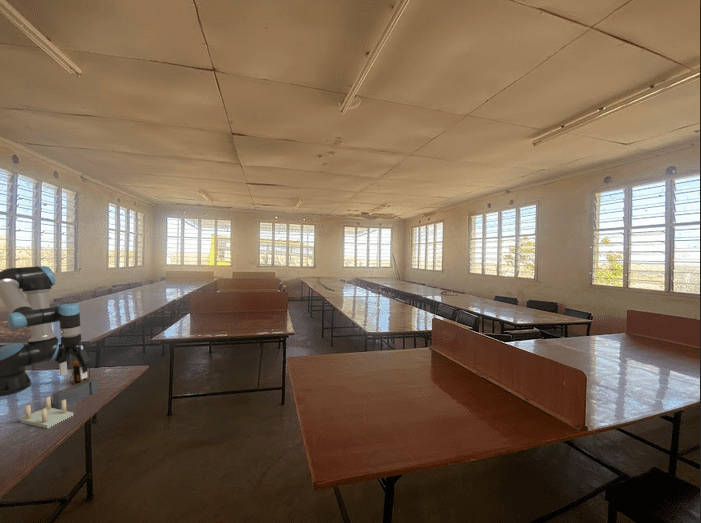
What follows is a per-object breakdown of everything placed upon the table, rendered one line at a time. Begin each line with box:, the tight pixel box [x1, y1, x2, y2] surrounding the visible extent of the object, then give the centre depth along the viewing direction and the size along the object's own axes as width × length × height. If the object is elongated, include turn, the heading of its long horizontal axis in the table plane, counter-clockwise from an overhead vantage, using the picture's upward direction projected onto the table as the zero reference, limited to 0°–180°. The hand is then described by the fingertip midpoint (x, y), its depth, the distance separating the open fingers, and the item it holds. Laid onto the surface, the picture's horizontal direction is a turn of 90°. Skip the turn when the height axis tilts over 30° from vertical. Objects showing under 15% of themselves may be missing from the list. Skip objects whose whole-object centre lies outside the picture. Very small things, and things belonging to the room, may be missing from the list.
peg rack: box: [19, 396, 74, 430], centre depth 139 cm, size 17×10×8 cm, turn 76°
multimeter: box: [69, 357, 98, 385], centre depth 174 cm, size 15×10×20 cm
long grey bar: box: [52, 377, 99, 410], centre depth 155 cm, size 17×6×7 cm, turn 166°
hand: (73, 376), depth 154 cm, fingers open, 13 cm apart
